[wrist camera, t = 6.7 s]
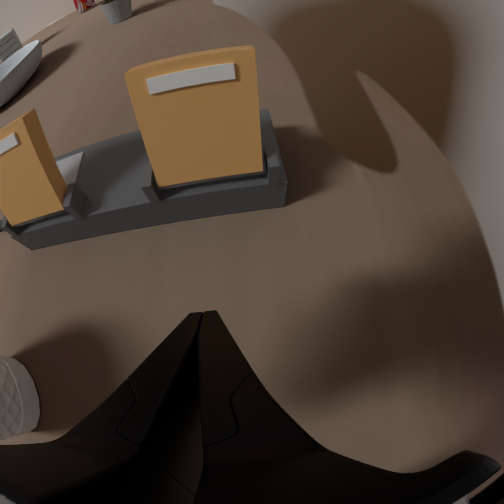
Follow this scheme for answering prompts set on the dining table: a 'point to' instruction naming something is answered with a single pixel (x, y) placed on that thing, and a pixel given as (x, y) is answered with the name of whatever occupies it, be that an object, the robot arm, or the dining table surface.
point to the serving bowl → (18, 70)
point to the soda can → (84, 5)
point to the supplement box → (9, 45)
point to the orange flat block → (199, 116)
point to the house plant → (117, 10)
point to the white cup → (17, 399)
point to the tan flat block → (28, 173)
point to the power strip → (145, 192)
